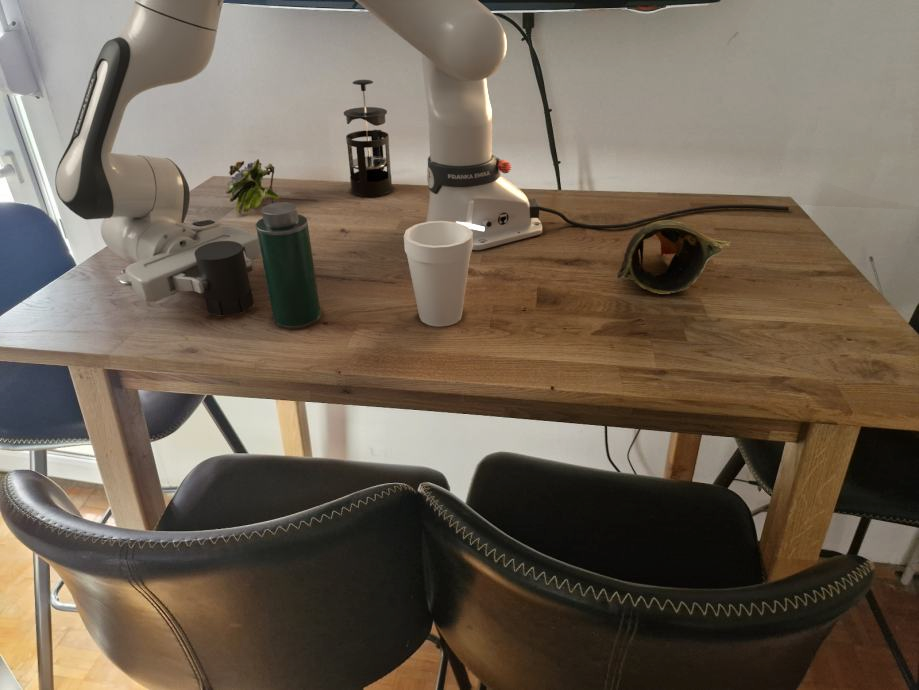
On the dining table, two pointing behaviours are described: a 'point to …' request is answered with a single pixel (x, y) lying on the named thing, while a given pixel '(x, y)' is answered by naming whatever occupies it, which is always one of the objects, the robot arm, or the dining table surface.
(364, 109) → the french press
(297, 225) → the thermos
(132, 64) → the robot arm
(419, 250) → the foam cup
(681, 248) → the pot
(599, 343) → the dining table surface
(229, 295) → the lid
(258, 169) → the passion flower
